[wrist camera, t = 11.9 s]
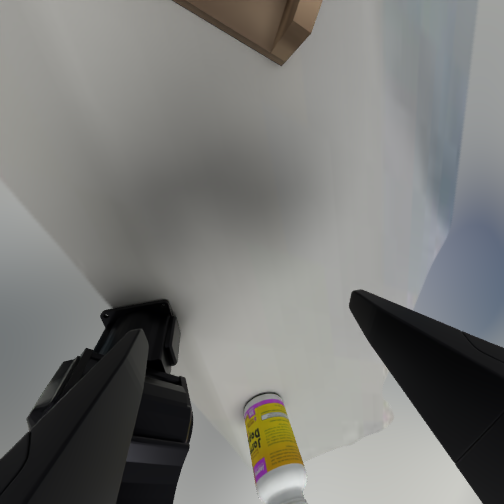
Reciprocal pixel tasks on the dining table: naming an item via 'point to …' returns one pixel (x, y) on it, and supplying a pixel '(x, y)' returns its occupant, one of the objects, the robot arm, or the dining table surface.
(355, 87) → the dining table surface
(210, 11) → the u rest
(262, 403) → the supplement bottle
